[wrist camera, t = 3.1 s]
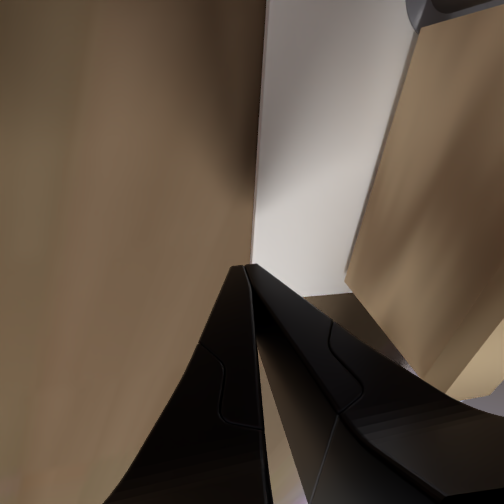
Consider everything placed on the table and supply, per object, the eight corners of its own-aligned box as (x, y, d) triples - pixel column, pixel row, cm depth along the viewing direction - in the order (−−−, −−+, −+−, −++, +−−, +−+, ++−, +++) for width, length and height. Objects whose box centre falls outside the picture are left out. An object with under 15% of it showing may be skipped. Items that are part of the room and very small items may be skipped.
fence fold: (376, 278, 12) (489, 395, 7) (341, 281, 12) (436, 405, 7) (470, 34, 7) (916, -60, 3) (416, 27, 7) (823, -93, 2)
